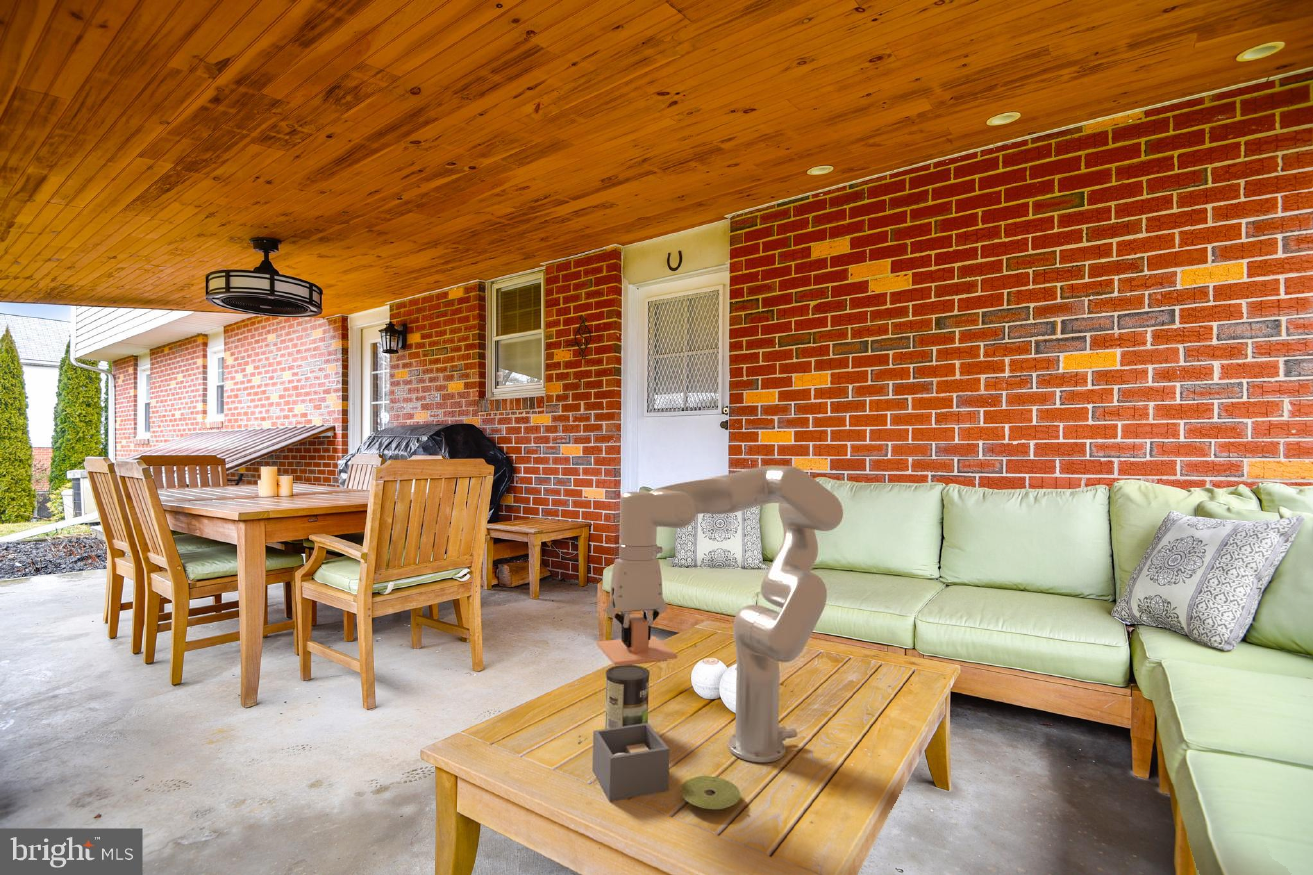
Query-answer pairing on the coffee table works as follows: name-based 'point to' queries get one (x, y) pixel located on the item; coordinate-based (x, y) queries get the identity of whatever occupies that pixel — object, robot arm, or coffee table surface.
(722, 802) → the green round disc
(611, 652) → the lid
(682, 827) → the coffee table surface
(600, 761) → the storage box
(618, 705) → the coffee can
